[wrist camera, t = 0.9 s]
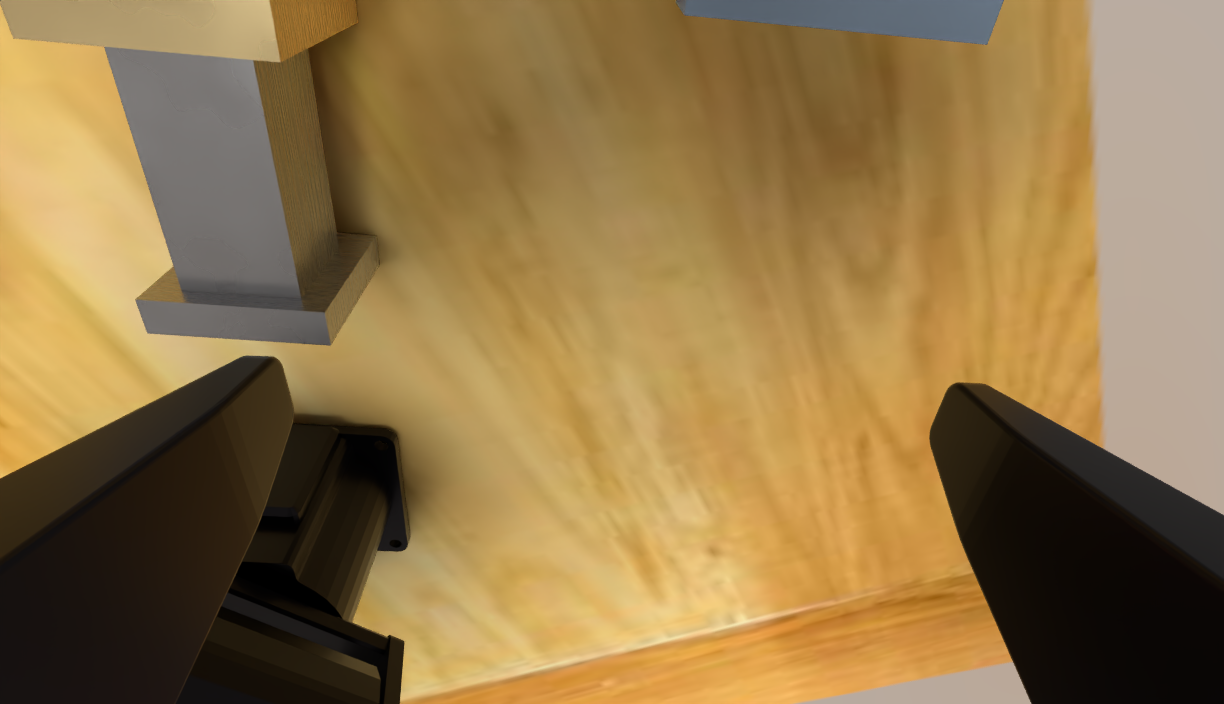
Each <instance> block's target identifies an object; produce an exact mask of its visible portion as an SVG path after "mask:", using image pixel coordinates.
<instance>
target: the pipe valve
mask: <svg viewBox="0 0 1224 704" xmlns="http://www.w3.org/2000/svg"><path fill="white" fill-rule="evenodd" d="M0 5H1V7H2V10H3V13H4V15H5V18H6V20H7V23H8V26H9V28H10V31H11V33H12V36H13V39H25V40H36V41H47V42H58V43H69V44H80V45H91V46H102V47H104V48H105V51H106V54H107V57H108V60H109V64H110V67H111V70H112V73H113V76H114V79H115V83H116V86H117V89H118V92H119V95H120V98H121V102H122V105H123V108H124V111H125V114H126V117H127V120H128V124H129V127H130V130H131V133H132V136H133V139H134V143H135V146H136V149H137V152H138V155H139V158H140V161H141V165H142V168H143V171H144V174H145V177H146V180H147V184H148V187H149V190H150V193H151V196H152V199H153V202H154V206H155V209H156V212H157V215H158V218H159V221H160V225H161V228H162V231H163V234H164V237H165V240H166V244H167V247H168V250H169V253H170V256H171V259H172V262H173V266H174V267H172V268H171V269H170V270H169V271H168V272H167V273H165V274H164V275H163V276H162V277H161V278H160V279H158V280H157V281H156V282H155V283H154V284H153V285H152V286H150V287H149V288H148V289H147V290H146V291H145V292H143V293H142V294H141V295H140V296H139V297H138V298H136V299H135V300H136V303H137V306H138V309H139V311H140V314H141V317H142V320H143V322H144V325H145V328H146V331H147V333H149V334H165V335H180V336H195V337H210V338H225V339H240V340H255V341H271V342H286V343H301V344H316V345H331V344H332V343H333V341H334V339H335V338H336V336H337V334H338V333H339V331H340V329H341V328H342V326H343V324H344V323H345V321H346V319H347V318H348V316H349V315H350V313H351V311H352V310H353V308H354V306H355V305H356V303H357V301H358V300H359V298H360V296H361V295H362V293H363V291H364V290H365V288H366V286H367V285H368V283H369V282H370V280H371V278H372V277H373V275H374V273H375V272H376V270H377V268H378V267H379V265H380V262H379V254H378V246H377V238H376V236H375V235H362V234H349V233H337V230H336V224H335V218H334V211H333V205H332V199H331V192H330V186H329V180H328V173H327V167H326V160H325V154H324V148H323V141H322V135H321V129H320V122H319V116H318V110H317V103H316V97H315V91H314V84H313V78H312V71H311V65H310V59H309V52H308V48H310V47H312V46H313V45H315V44H317V43H319V42H321V41H323V40H325V39H327V38H329V37H331V36H333V35H335V34H337V33H339V32H341V31H342V30H344V29H346V28H348V27H350V26H352V25H354V24H356V23H358V16H357V8H356V0H0Z"/></svg>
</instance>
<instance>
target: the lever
mask: <svg viewBox="0 0 1224 704" xmlns="http://www.w3.org/2000/svg"><path fill="white" fill-rule="evenodd" d="M1003 1H1004V0H676V1H675V2H676V4H677V5H678V7H679V8H680V10H681V11H682V13H683V14H684V15H687V16H697V17H707V18H718V19H728V20H738V21H748V22H759V23H769V24H779V25H789V26H800V27H810V28H820V29H831V30H841V31H851V32H861V33H872V34H882V35H892V36H902V37H913V38H923V39H933V40H944V41H954V42H964V43H974V44H985V45H987V44H988V41H989V38H990V36H991V33H992V30H993V28H994V25H995V22H996V20H997V17H998V14H999V12H1000V9H1001V6H1002V4H1003Z"/></svg>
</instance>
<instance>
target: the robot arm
mask: <svg viewBox="0 0 1224 704" xmlns="http://www.w3.org/2000/svg"><path fill="white" fill-rule="evenodd" d="M293 418H294V408H293V403H292V399H291V395H290V392H289V388H288V384H287V381H286V377H285V373H284V369H283V366H282V364H281V362H280V361H279V360H278V359H276V358H275V357H268V356H243V357H240V358H238V359H236V360H234V361H232V362H230V363H228V364H227V365H225V366H223V367H221V368H219V369H217V370H215V371H213V372H211V373H209V374H207V375H205V376H203V377H201V378H199V379H197V380H195V381H193V382H191V383H189V384H187V385H185V386H183V387H181V388H179V389H177V390H175V391H173V392H171V393H169V394H167V395H165V396H163V397H161V398H159V399H157V400H155V401H153V402H151V403H149V404H147V405H145V406H143V407H141V408H139V409H137V410H135V411H133V412H131V413H129V414H127V415H125V416H123V417H121V418H119V419H118V420H116V421H114V422H112V423H110V424H108V425H106V426H104V427H102V428H100V429H98V430H96V431H94V432H92V433H90V434H88V435H86V436H84V437H82V438H80V439H78V440H76V441H74V442H72V443H70V444H68V445H66V446H64V447H62V448H60V449H58V450H56V451H54V452H52V453H50V454H48V455H46V456H44V457H42V458H40V459H38V460H36V461H34V462H32V463H30V464H28V465H26V466H24V467H22V468H20V469H18V470H16V471H14V472H12V473H10V474H9V475H7V476H5V477H3V478H1V479H0V704H400V693H401V680H402V667H403V654H404V641H403V640H401V639H398V638H396V637H393V636H391V635H389V636H388V637H386V636H383V635H381V634H379V633H376V632H374V631H371V630H369V629H366V628H364V627H362V626H359V625H357V624H354V623H352V622H353V619H354V616H355V613H356V610H357V607H358V604H359V601H360V599H361V596H362V593H363V590H364V587H365V584H366V581H367V578H368V575H369V573H370V570H371V567H372V564H373V561H374V558H375V555H376V552H377V551H403V550H405V549H406V548H407V546H408V543H409V540H410V532H409V524H408V516H407V508H406V500H405V492H404V484H403V476H402V468H401V460H400V452H399V444H398V438H397V436H396V435H395V434H394V433H393V432H392V431H390V430H387V429H381V428H364V427H347V426H330V425H314V424H297V423H293ZM929 439H930V446H931V450H932V453H933V456H934V459H935V462H936V466H937V469H938V472H939V475H940V478H941V482H942V485H943V488H944V491H945V494H946V498H947V501H948V504H949V507H950V510H951V514H952V517H953V520H954V523H955V526H956V529H957V532H958V535H959V538H960V541H961V543H962V546H963V548H964V551H965V553H966V555H967V558H968V560H969V562H970V565H971V567H972V569H973V572H974V574H975V576H976V578H977V581H978V583H979V585H980V588H981V590H982V592H983V594H984V597H985V599H986V601H987V604H988V606H989V608H990V610H991V613H992V615H993V617H994V619H995V622H996V624H997V626H998V629H999V631H1000V633H1001V635H1002V638H1003V640H1004V642H1005V645H1006V647H1007V649H1008V651H1009V654H1010V656H1011V658H1012V661H1013V663H1014V665H1015V667H1016V670H1017V672H1018V674H1019V676H1020V679H1021V681H1022V683H1023V685H1024V688H1025V690H1026V692H1027V695H1028V697H1029V699H1030V702H1031V704H1224V515H1222V514H1221V513H1219V512H1217V511H1215V510H1213V509H1211V508H1210V507H1208V506H1206V505H1204V504H1202V503H1201V502H1199V501H1197V500H1195V499H1193V498H1192V497H1190V496H1188V495H1186V494H1184V493H1182V492H1180V491H1179V490H1177V489H1175V488H1173V487H1172V486H1170V485H1168V484H1166V483H1164V482H1162V481H1161V480H1159V479H1157V478H1155V477H1153V476H1152V475H1150V474H1148V473H1146V472H1144V471H1143V470H1141V469H1139V468H1137V467H1135V466H1133V465H1132V464H1130V463H1128V462H1126V461H1124V460H1122V459H1121V458H1119V457H1117V456H1115V455H1113V454H1112V453H1110V452H1108V451H1106V450H1104V449H1103V448H1101V447H1099V446H1097V445H1095V444H1093V443H1092V442H1090V441H1088V440H1086V439H1084V438H1083V437H1081V436H1079V435H1077V434H1075V433H1073V432H1072V431H1070V430H1068V429H1066V428H1064V427H1063V426H1061V425H1059V424H1057V423H1055V422H1053V421H1052V420H1050V419H1048V418H1046V417H1044V416H1043V415H1041V414H1039V413H1037V412H1035V411H1033V410H1032V409H1030V408H1028V407H1026V406H1024V405H1023V404H1021V403H1019V402H1017V401H1015V400H1013V399H1012V398H1010V397H1008V396H1006V395H1004V394H1003V393H1001V392H999V391H997V390H995V389H994V388H992V387H990V386H988V385H986V384H982V383H955V384H952V385H951V386H950V387H949V388H948V389H947V391H946V393H945V395H944V398H943V400H942V402H941V405H940V407H939V409H938V412H937V414H936V417H935V419H934V421H933V424H932V426H931V429H930V437H929ZM380 441H384V442H386V443H387V444H384V443H381V442H380Z"/></svg>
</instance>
